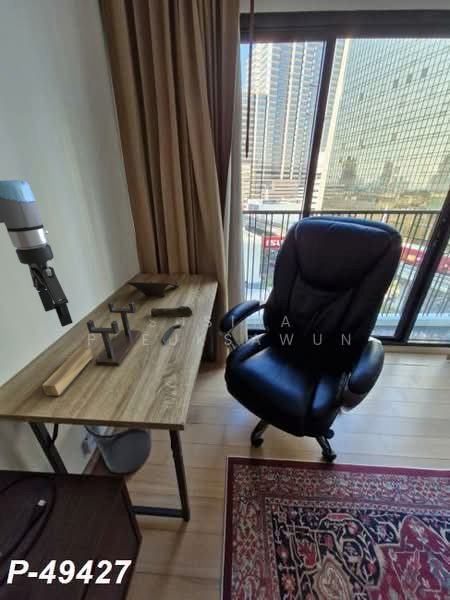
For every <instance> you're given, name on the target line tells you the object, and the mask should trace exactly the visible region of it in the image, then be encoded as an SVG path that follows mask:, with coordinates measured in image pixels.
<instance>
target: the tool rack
mask: <svg viewBox="0 0 450 600" xmlns="http://www.w3.org/2000/svg"><path fill="white" fill-rule="evenodd" d="M135 304H136V303H135V301H130V302H129V303H128V307H129V308H128V307H127V308H126V307H124V308H122V307H116V306H115V303H114V301H113V300H112V301H111V300H110V301H109V302H108V303H107V307H108V311H109V313H110V314H111V313H112V314H120V319H121V322H122V327H123V329H122V330H120V328H119V324H118V320H113V321H111V323H110V327H96V325H95V322H94V320H93V319H88V320H87V322H86V323H85V324H86V327H87V330H88V333H89V334H100V335H101V339H102V342H103V345H104V348H105V350H104V351H103V352H102V354H101V355H100V356H99V357H98V358H97V359H96V360H95V362H96V365H97V366H113V367H115V366H116V367H119V366H120V365H121V364H122V362H123V361H124V359H125V357H126V356H127V355H128V353H129V352H130V350H132V347H133V346H134V344H135V343H136V342H137V340H138V338H139V337H140V336H141V334H142V332H141V330H135V329H131V328H130V324H129V323H130V322H129V319H128V315H127V314H135V312H136V311H137V310H136V305H135ZM110 334H111V335H116V337H115V338H114V339H113V340H112V341H111V337H110Z"/></svg>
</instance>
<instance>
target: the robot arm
mask: <svg viewBox="0 0 450 600" xmlns="http://www.w3.org/2000/svg"><path fill="white" fill-rule="evenodd" d="M0 224H4V225H5V228H6V231H7V235H8V236H9V239H10V241H11V244H12V246H13V247H14V248H16V249H15V253H16V255H17V258H18V261H19V262H20V263H21V264H23V265H27V266H28V268H29V273H30V276H31V280H32V284H33V287H34V288H35V290H36V291H37V293H38V296H39V298H40V301H41V304H42V307H43V309H44V311H45V313H46V312H50V311H53V310H55V312H56V314H57V317H58V321H59V323H60V325H61V327H62V328H64V327H66V326H69V325H71V324H73V323H74V322H73V319H72V316H71V313H70V310H69V307H68V305H67V304H69V300H68V297H67V295H66V294H65V292H64V289H63V288H62V285H61V283H60V281H59V279H58V277H57V275H56V272H55V268H54V267H53V266H49V265H48V262H49V261H51V260H52V259H54V253H53V250H52V246H51V245H50V244H48V243H49V239H48V236H47V235H48V234H49V231H48V230H46V229H45V227H44V223H43V222H42V217H41V215H40V212H39V208H38V204H37V200H36V197H35V196H34V193H33V191H32V189H31V186H30V184H29V183H28V182H27V181H26V180H22V179H13V180H12V179H11V180H0Z"/></svg>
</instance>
